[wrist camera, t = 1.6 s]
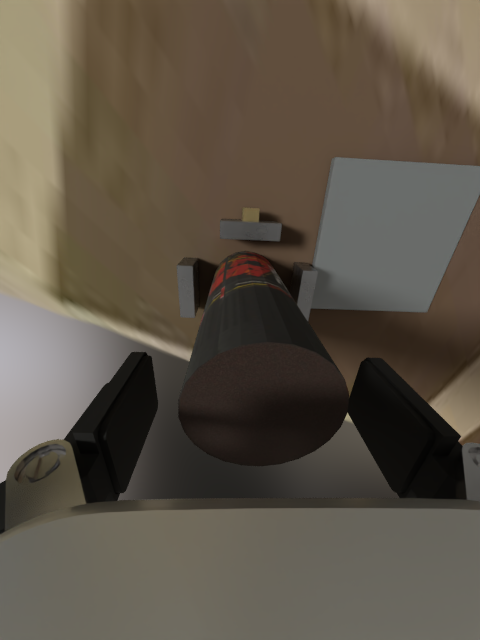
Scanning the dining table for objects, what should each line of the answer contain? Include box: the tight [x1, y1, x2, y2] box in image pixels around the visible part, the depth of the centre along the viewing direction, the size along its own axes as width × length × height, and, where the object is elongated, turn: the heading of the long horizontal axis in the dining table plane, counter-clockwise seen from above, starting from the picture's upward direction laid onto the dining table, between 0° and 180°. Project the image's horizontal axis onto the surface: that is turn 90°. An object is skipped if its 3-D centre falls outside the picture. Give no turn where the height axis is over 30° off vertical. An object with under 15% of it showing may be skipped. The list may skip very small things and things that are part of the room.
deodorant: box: [179, 251, 349, 466], centre depth 15 cm, size 6×6×15 cm
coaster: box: [311, 157, 480, 312], centre depth 20 cm, size 12×12×1 cm
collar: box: [177, 208, 318, 321], centre depth 20 cm, size 13×11×3 cm
